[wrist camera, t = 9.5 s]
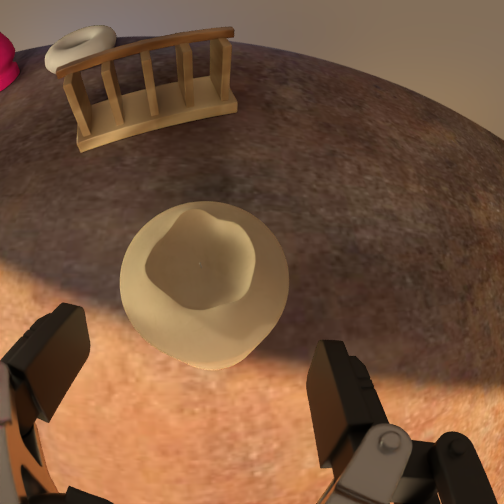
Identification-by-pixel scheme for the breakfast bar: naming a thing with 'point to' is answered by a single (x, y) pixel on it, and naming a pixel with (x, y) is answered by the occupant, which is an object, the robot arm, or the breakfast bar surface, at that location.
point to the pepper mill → (7, 63)
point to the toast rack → (150, 89)
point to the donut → (79, 45)
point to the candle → (204, 283)
